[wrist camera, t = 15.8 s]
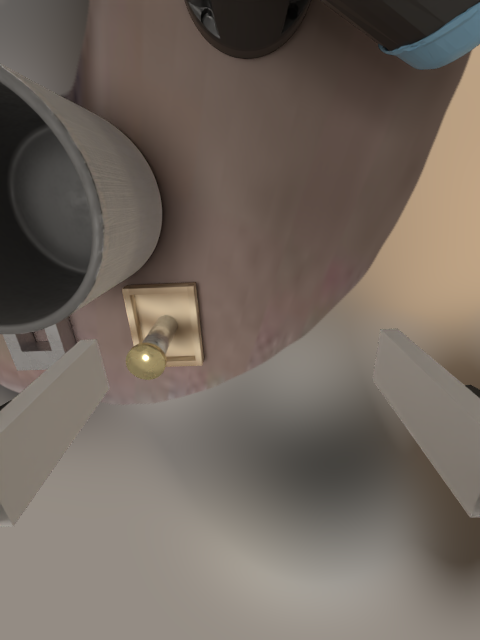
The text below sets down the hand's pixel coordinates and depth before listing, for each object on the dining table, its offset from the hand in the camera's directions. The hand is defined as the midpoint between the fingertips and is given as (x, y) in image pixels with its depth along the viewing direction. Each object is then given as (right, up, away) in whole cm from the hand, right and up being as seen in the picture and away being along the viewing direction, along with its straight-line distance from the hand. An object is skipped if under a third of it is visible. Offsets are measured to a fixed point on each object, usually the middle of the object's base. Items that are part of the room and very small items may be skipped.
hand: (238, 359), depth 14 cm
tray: (-12, +1, +35) cm, 37 cm away
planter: (-22, +19, +28) cm, 40 cm away
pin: (-12, +1, +34) cm, 37 cm away
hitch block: (-33, 0, +36) cm, 49 cm away
